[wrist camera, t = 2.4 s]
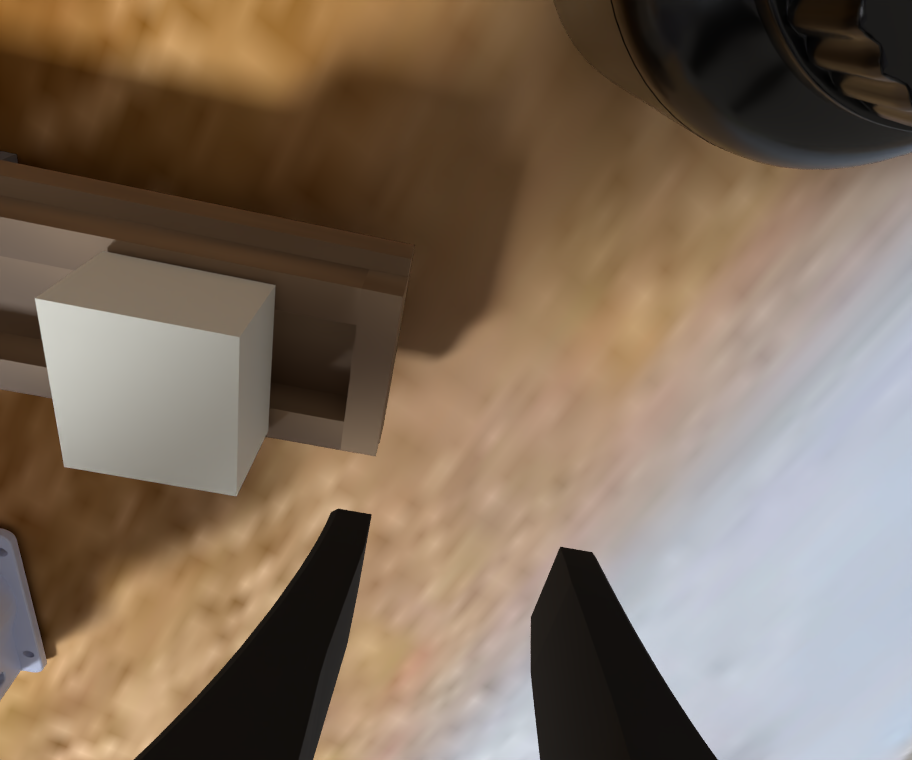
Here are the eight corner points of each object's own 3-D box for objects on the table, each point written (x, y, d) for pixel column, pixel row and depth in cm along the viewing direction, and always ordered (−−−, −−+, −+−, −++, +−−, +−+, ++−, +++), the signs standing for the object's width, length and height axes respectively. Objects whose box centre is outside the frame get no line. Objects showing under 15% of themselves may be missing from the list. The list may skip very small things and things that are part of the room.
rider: (279, 406, 18) (236, 496, 15) (139, 380, 18) (64, 466, 15) (288, 266, 16) (239, 337, 13) (127, 233, 16) (35, 298, 12)
